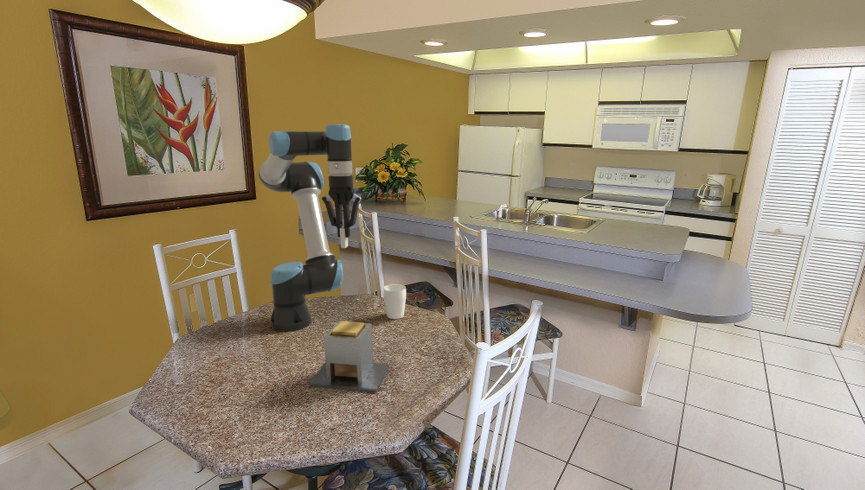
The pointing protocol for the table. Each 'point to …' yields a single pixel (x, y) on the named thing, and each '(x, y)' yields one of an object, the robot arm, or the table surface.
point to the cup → (395, 300)
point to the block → (350, 331)
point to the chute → (350, 362)
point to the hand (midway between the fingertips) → (344, 246)
